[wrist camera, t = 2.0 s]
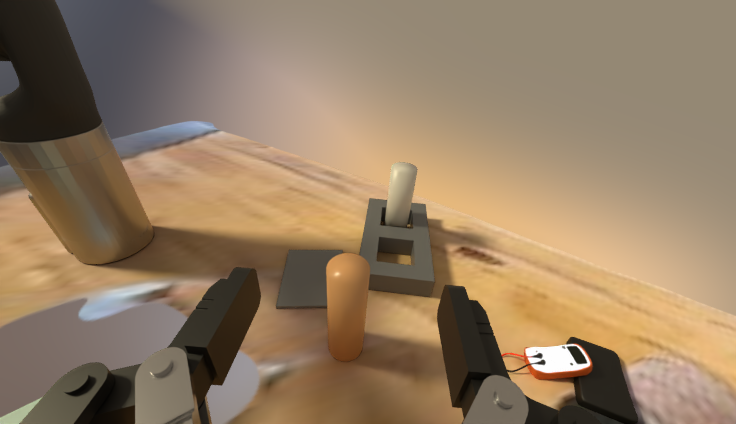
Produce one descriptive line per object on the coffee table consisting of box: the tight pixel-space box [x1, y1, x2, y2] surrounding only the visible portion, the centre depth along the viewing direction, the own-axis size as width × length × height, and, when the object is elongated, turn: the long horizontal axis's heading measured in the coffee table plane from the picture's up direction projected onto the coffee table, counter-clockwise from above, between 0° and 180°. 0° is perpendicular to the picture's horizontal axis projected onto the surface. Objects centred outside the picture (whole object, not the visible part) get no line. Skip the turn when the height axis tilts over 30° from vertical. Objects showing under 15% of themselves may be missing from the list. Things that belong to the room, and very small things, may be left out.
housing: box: [360, 162, 435, 297], centre depth 42 cm, size 10×18×12 cm, turn 174°
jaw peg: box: [326, 253, 370, 362], centre depth 28 cm, size 4×4×12 cm
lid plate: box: [276, 250, 343, 309], centre depth 39 cm, size 8×10×1 cm
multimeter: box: [501, 337, 638, 424], centre depth 30 cm, size 18×12×3 cm, turn 63°
